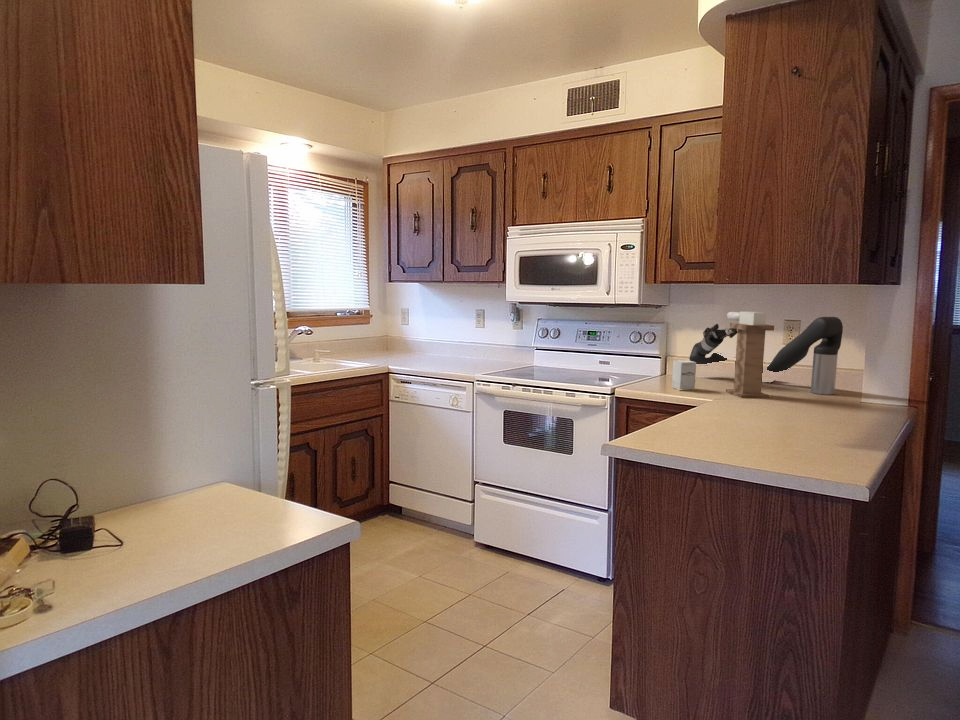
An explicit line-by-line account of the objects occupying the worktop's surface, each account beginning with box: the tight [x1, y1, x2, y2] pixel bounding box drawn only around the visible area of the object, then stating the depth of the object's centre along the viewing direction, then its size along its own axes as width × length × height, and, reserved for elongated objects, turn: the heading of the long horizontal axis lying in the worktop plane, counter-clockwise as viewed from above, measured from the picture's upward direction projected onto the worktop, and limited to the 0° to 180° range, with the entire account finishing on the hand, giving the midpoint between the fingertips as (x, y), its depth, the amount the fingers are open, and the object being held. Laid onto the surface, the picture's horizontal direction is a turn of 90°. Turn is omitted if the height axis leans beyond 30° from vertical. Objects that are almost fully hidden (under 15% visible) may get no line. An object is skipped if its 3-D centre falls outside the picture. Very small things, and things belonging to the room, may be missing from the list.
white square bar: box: [726, 311, 767, 325], centre depth 278 cm, size 25×5×5 cm, turn 5°
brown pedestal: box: [725, 322, 775, 399], centre depth 274 cm, size 14×12×30 cm
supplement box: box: [671, 359, 697, 389], centre depth 287 cm, size 7×7×13 cm
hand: (726, 325), depth 293 cm, fingers open, 8 cm apart
